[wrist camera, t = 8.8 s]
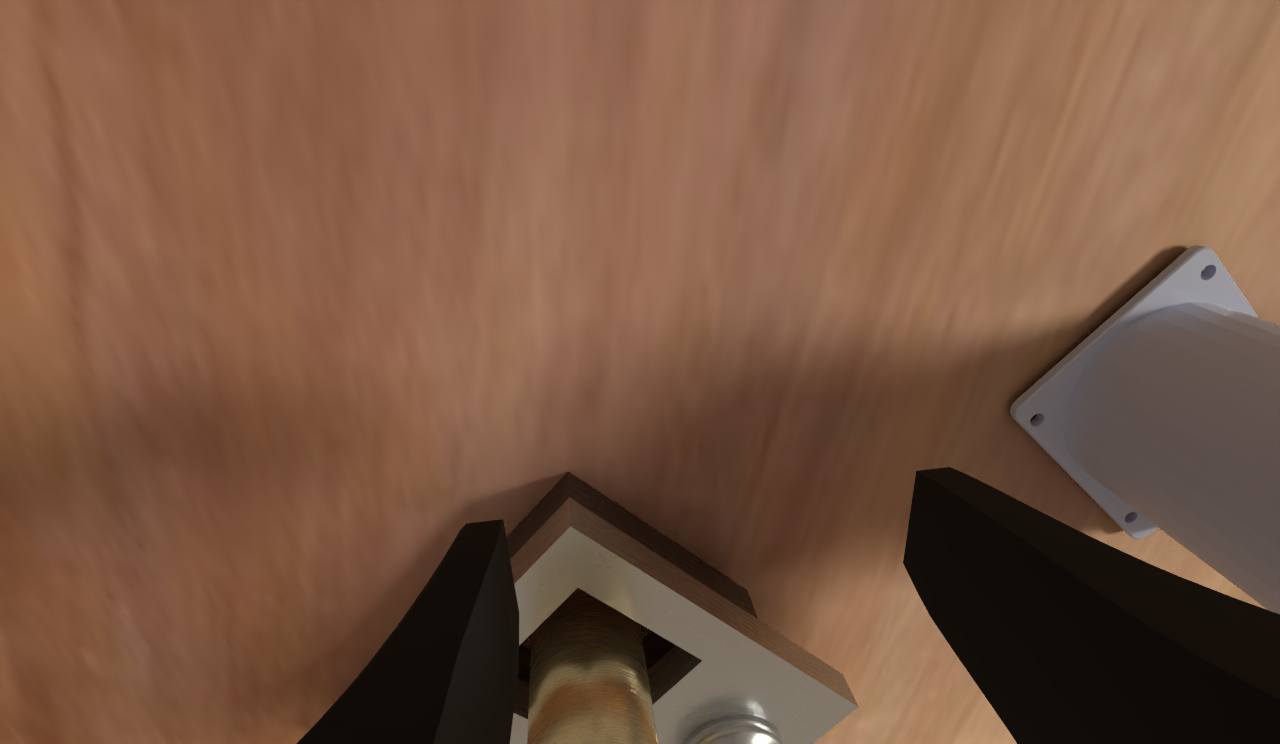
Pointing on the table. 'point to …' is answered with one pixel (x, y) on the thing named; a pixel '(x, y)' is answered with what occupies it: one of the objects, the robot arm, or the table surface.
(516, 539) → the black base board
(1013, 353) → the table surface
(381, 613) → the table surface
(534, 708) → the brass pin
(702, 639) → the grey square hole plate
